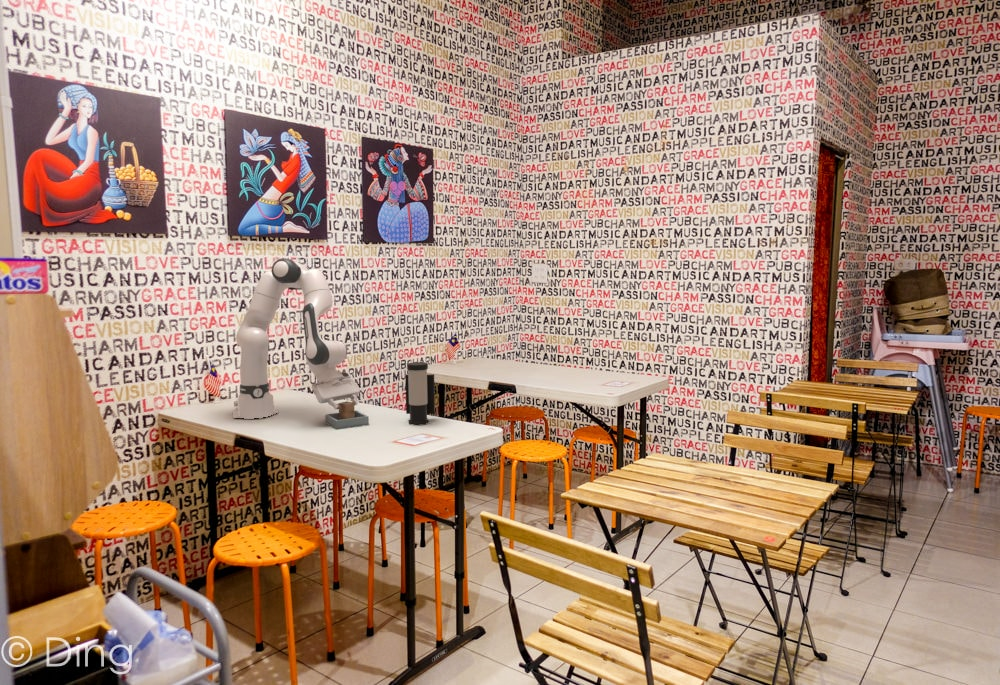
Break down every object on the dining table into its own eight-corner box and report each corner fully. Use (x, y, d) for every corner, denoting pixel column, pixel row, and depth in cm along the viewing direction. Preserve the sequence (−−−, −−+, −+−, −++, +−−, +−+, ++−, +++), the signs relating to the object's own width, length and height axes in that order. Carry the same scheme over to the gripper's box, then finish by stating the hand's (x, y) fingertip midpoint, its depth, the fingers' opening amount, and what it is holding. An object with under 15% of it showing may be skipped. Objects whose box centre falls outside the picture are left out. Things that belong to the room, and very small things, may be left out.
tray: (325, 422, 285) (325, 414, 285) (356, 418, 292) (356, 410, 292) (336, 429, 274) (336, 420, 273) (368, 424, 281) (368, 416, 280)
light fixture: (402, 425, 280) (400, 365, 277) (406, 419, 291) (405, 361, 288) (431, 425, 279) (430, 365, 276) (435, 419, 290) (434, 361, 287)
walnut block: (339, 422, 282) (338, 402, 281) (347, 420, 286) (346, 401, 285) (346, 423, 280) (345, 404, 279) (354, 421, 283) (354, 402, 282)
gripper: (313, 379, 277) (329, 406, 272) (352, 372, 293) (368, 397, 288) (306, 389, 280) (322, 415, 275) (345, 381, 296) (361, 407, 291)
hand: (346, 406), depth 282 cm, fingers open, 8 cm apart
